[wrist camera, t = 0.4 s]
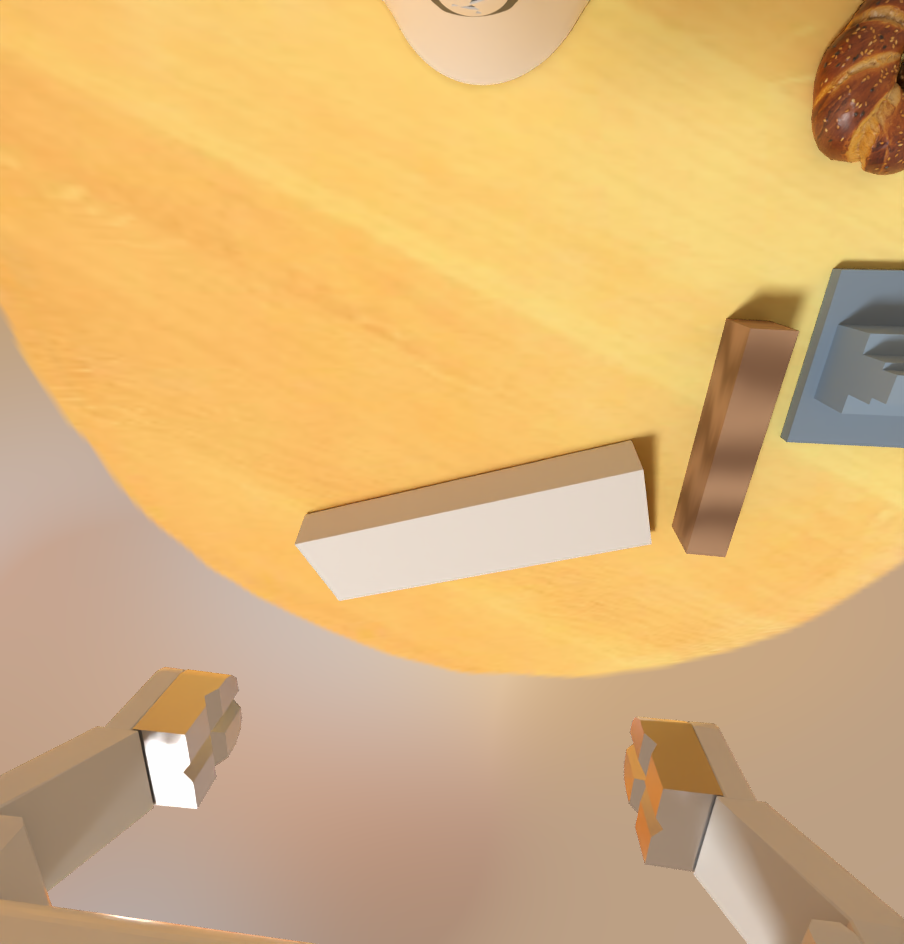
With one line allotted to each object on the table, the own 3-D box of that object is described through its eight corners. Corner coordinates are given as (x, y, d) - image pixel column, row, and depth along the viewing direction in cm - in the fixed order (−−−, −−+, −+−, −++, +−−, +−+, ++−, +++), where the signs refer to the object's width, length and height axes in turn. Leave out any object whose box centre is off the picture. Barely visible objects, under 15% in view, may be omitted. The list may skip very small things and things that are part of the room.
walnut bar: (725, 318, 42) (750, 328, 37) (768, 320, 41) (799, 331, 37) (671, 524, 50) (686, 553, 46) (706, 528, 50) (725, 556, 46)
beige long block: (639, 509, 53) (629, 436, 47) (651, 544, 49) (643, 469, 43) (347, 567, 61) (306, 510, 55) (339, 600, 57) (294, 544, 51)
